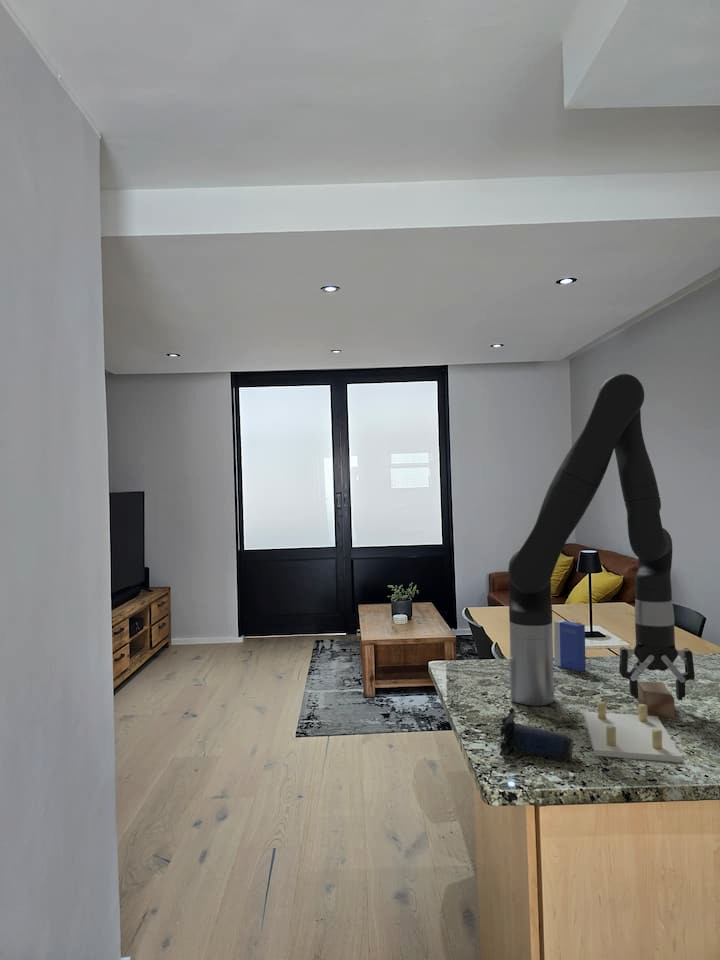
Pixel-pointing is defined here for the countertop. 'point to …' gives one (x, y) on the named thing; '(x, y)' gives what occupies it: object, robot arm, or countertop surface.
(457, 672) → the countertop surface
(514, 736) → the beverage can
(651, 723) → the board
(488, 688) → the countertop surface
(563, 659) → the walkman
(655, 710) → the brown rectangular block
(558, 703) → the countertop surface
